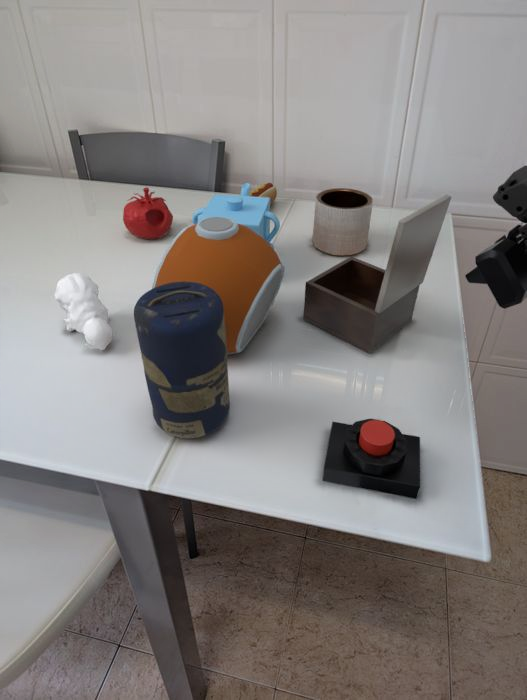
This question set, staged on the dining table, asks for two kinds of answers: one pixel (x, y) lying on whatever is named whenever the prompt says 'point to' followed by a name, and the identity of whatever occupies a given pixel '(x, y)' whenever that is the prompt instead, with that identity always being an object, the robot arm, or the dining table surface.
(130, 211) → the red tomato
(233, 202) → the teapot
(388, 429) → the button
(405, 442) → the switch block
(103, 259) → the dining table surface
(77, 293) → the white animal figurine
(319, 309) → the wooden box
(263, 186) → the food
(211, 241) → the alarm clock
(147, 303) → the canister
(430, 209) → the grey square plate
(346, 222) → the planter
